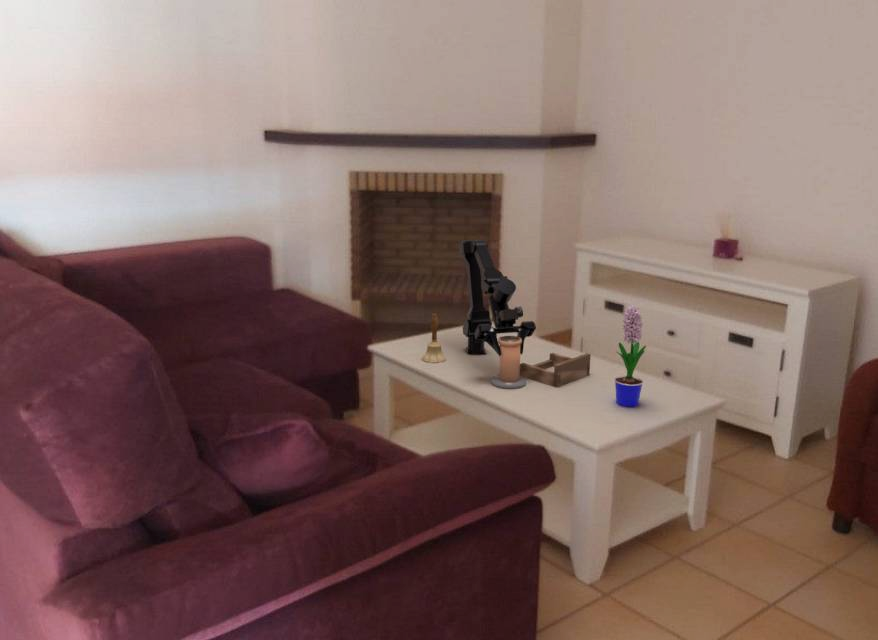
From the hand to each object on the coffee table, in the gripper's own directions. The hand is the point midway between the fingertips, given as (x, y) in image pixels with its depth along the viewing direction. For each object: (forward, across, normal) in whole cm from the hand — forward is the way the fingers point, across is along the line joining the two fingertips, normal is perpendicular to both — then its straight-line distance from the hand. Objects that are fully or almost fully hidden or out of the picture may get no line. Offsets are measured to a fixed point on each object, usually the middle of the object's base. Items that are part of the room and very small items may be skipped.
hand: (511, 354), depth 262 cm
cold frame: (+4, +17, +10) cm, 20 cm away
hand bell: (-14, -16, +28) cm, 35 cm away
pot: (+5, 0, +7) cm, 9 cm away
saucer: (+6, 0, +8) cm, 10 cm away
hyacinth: (+23, +29, -9) cm, 38 cm away
